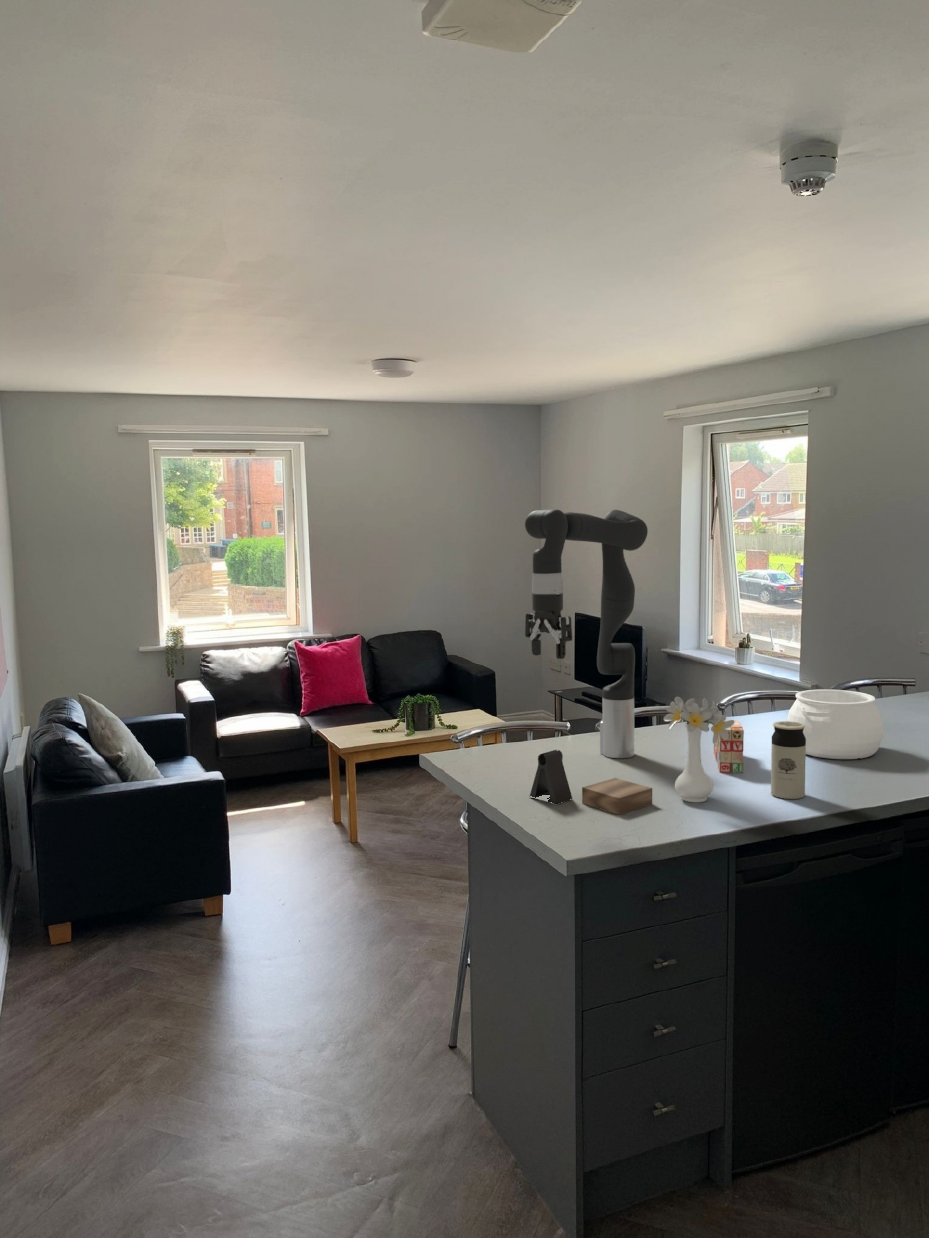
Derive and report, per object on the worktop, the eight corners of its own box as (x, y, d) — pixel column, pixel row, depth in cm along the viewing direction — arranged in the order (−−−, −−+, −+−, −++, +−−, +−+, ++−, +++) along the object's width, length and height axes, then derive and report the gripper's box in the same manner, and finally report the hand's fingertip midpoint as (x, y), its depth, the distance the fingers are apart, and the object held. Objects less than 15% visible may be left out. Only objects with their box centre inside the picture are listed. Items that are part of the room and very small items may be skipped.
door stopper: (529, 797, 229) (528, 751, 228) (545, 792, 233) (544, 746, 232) (556, 805, 223) (555, 757, 221) (572, 799, 227) (571, 752, 226)
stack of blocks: (713, 753, 268) (713, 712, 267) (735, 753, 267) (735, 712, 266) (719, 773, 247) (719, 728, 246) (743, 773, 246) (743, 729, 245)
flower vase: (714, 813, 213) (715, 709, 211) (650, 797, 227) (650, 698, 224) (744, 801, 222) (745, 700, 219) (681, 786, 236) (681, 691, 233)
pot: (854, 768, 248) (856, 709, 246) (767, 751, 268) (767, 697, 266) (900, 749, 267) (902, 694, 265) (815, 735, 287) (816, 684, 285)
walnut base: (582, 803, 224) (582, 787, 223) (615, 793, 231) (615, 777, 231) (619, 814, 214) (619, 798, 214) (652, 804, 222) (652, 788, 221)
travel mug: (777, 788, 232) (778, 719, 230) (809, 794, 227) (810, 723, 225) (766, 796, 226) (766, 725, 224) (798, 802, 221) (799, 729, 219)
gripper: (516, 591, 226) (518, 655, 228) (556, 593, 215) (557, 661, 216) (538, 589, 230) (539, 652, 232) (579, 591, 219) (579, 658, 221)
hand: (548, 656), depth 224 cm, fingers open, 8 cm apart
